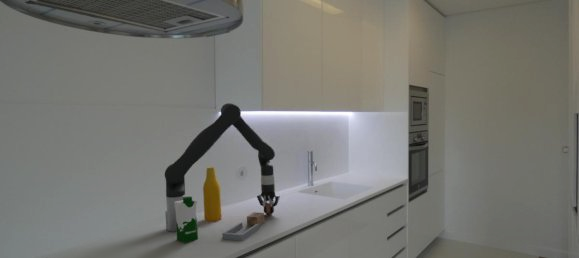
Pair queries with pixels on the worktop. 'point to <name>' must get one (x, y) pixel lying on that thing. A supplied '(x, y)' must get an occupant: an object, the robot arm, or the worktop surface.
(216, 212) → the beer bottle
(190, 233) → the milk carton
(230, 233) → the lane
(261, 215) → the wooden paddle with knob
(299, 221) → the worktop surface
